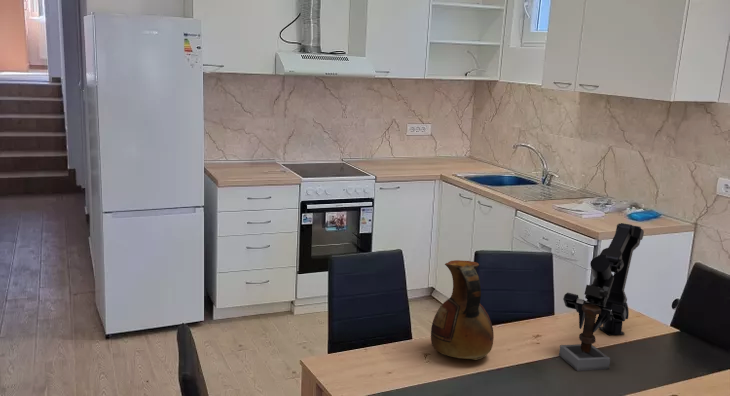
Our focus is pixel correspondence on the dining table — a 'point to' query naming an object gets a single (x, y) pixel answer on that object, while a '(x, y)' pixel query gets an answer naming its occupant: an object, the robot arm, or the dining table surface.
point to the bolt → (588, 326)
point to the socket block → (584, 358)
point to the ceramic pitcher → (463, 317)
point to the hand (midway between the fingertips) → (586, 330)
